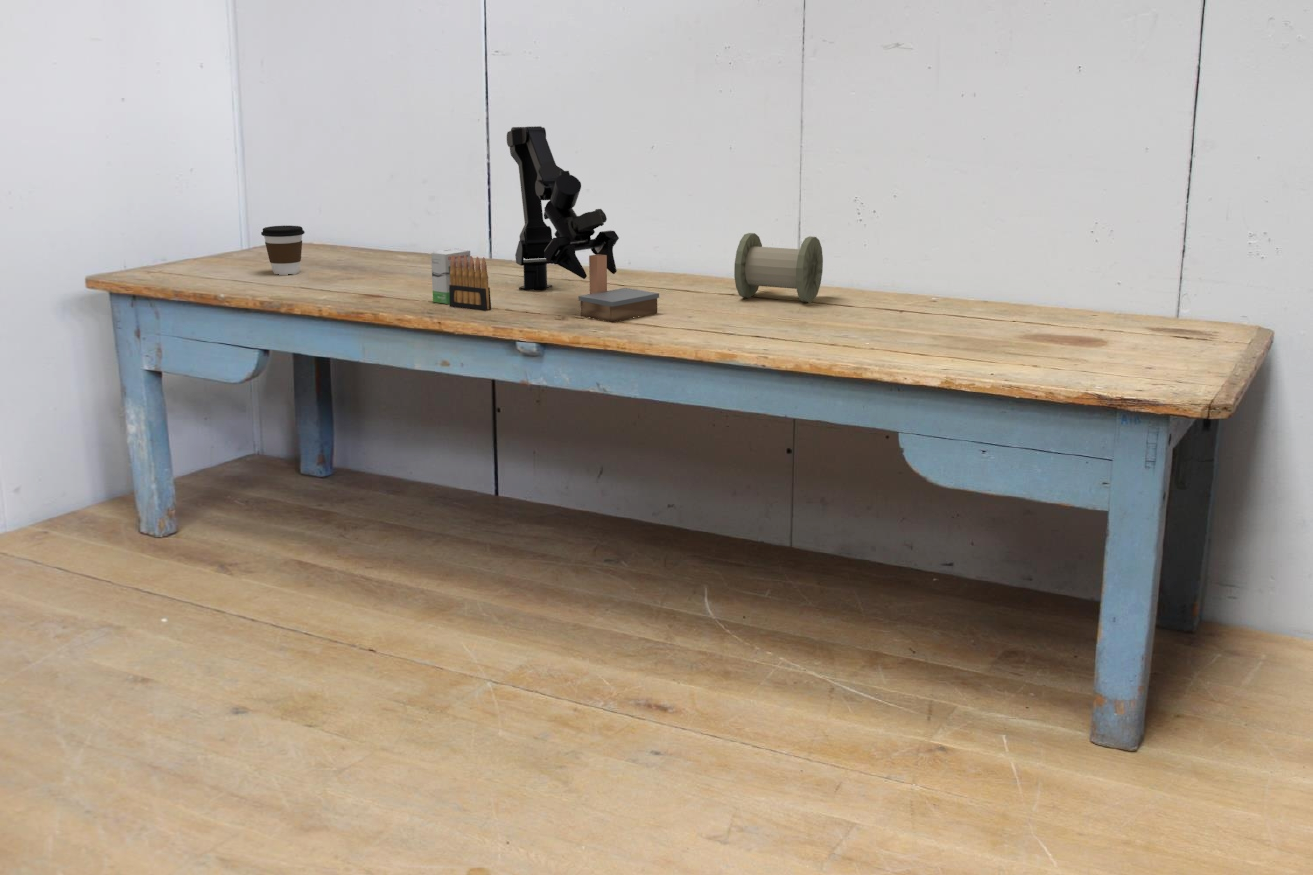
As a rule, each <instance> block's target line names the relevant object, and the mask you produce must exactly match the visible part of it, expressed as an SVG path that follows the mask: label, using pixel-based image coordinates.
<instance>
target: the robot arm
mask: <svg viewBox="0 0 1313 875" xmlns="http://www.w3.org/2000/svg"><path fill="white" fill-rule="evenodd" d="M506 144H507V146H508V147H509V152H510V156H511V157H512V158H513V160H514V162H516V164H517V166H518V173H519V183H520V184H519V185H520V192H521V201H522V211H523V222H524V225H523V228H522V230H521V232H520V234H519V241H518V243H517V247H516V251H515V254H514V255H515V263H516V264H517V265H519V266H520V267H522V266H523V285H522V286H519V287H518V290H521V291H522V290H523V291H541V292H542V291H546V290H547V289H548V290H549V289H551V288H552V287H553V284H548V267H547V264H549V265H557V266H559V267H561V268H563V269H566V270H568V271H569V272H571V273H572V274H574V275H576V276H577V277H579V278H580V279H583V280H585V279H586V278H587V277H588V275H587V273H586V270H585V269H584V267H583V265H582V263H581V262H580V260H579V259H578V257H577V255H576V252H577V251H586V250H590V251H591V252H592V253H593V255H597V254H601V255H607V271H608V272H610V273H611V274H612V275H615V274H616V273H617V272H618V271H617V266H616V263H615V262H616V261H615V257H614V250H613V249H614V246H615V245H616V244H617V242H618V240H619V239H620V237H619V235H618V234H617V233H616V231H615V230H612V229H611V230H604V231H599V232H598V234H597V235H596V237H594V238H593V239H592V237H591V236H593V235H594V234H595V233H596V231H595V229H597V228H599V227H603V226H604V223H606V222H607V220H608V218H607V215H606V213H605V212H604V210H603V209H602V208H597V209H594V210H592V211H587V212H584V213H582V214H580V215H577V213H576V212H575V210H574V209H573V208H574V207H575V206H576V204H577V200H578V198H579V195H580V192H581V189H582V183H581V181H580V180H579V179H578V178H577V177H576V176H575V175H572V174H571V173H570V171H569V170H564V169H563V168H561V167H560V166H558V165H557V163H556V161H555V159H554V156H553V153H552V150H551V148H550V145H549V142H548V139H547V131H546V128H545V127H543V126H541V125H539V126H535V125H534V126H512V127H511V128H510V130H509V131H507V133H506ZM542 201H547V203H546V205H545V207H544V208H543V206H542V205H543V204H542ZM543 209H544V210H543ZM543 211H544V213H543ZM548 219H549V221H550V223H551V224H552V225H553V228H554V229H555V230H556V231H555V232H554V236H555V237H553V233H552V231H553V230H552V228H551V226H550V225H547V224H546V223H545V221H544V220H548Z"/></svg>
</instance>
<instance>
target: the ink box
mask: <svg viewBox="0 0 1313 875" xmlns="http://www.w3.org/2000/svg"><path fill="white" fill-rule="evenodd" d="M452 254H453V255H454V257H455V262H456V271H457V257H458V255H460V257H461V261H462V270H463V259H464V256H466V257H467V261H468V268H469V260H470V257H471V250H469V249H463V248H447V249H441V250H433V251H432V252H431V253H430V261H431V264H430V265H431V266H430V267H431V284H432V285H431V286H432V288H431V289H432V302H433V303H438V304H443V305H444V304H445V305H449V285H450V267H451V264H450V263H451V256H452Z"/></svg>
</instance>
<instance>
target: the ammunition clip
mask: <svg viewBox="0 0 1313 875" xmlns="http://www.w3.org/2000/svg"><path fill="white" fill-rule="evenodd" d="M481 259H482V260H480V258H479V256H476V258H475V260H474V258H473V256H472V255H470V260H469V268H468V261H467V257H466V256H464V259H463V270H462V261H461V257H460V255H458V257H457V271H456V262H455V257H454V255H453V254H452V256H451V263H450V264H451V267H450V285H449V304H448V305H449V308H458V309H467V310H474V311H481V312H482V311H484V312H487V311H491V310H492V302H491V301H492V299H491V287H490V286H489V275H488V269H487V261H486V258H485V257H482V258H481Z"/></svg>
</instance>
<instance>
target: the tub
mask: <svg viewBox="0 0 1313 875" xmlns="http://www.w3.org/2000/svg"><path fill="white" fill-rule="evenodd" d="M579 302H580V317H582V316H585V317H584V318H587V317H590V318H589V319H592V318H594V319H593V320H598V319H599V320H598V321H603V320H604V322H608V321H609V322H610V323H616V321H617V322H621V321H620V320H622V321H625V320H624V319H627V320H630V319H629V318H632V319H634V318H633V317H637V318H639V317H638V316H642V317H645V316H646V315H647V316H651V314H652V315H656V313H657V314H658V298H655V299H650V300H645V301H640V302H635V303H629V304H624V305H619V306H614V307H611V306H606V305H600V304H595V303H589V302H584V301H579ZM609 322H608V323H609Z"/></svg>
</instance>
